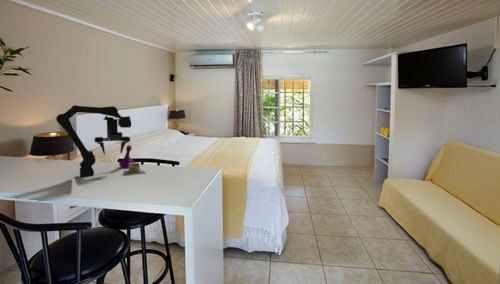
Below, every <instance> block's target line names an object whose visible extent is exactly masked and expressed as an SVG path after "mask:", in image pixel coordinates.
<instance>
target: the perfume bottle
mask: <svg viewBox="0 0 500 284" xmlns="http://www.w3.org/2000/svg"><path fill="white" fill-rule="evenodd" d="M129 142H130V141H129ZM129 142H128V143H127V144H128V145H126V148H125V150H126V153H125V154H124V155H125V156H124V157H123V159H122V160H121V161H120V162H119V163H118V165H119V166H120V167H121V168H127V169H129V163H136V162H135V161H134V160H133V158H131V157H130V152H131V150H133V148H132V145H130V143H129Z"/></svg>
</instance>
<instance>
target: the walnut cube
mask: <svg viewBox="0 0 500 284" xmlns="http://www.w3.org/2000/svg"><path fill="white" fill-rule="evenodd" d="M128 171H129V172H131V173H132V172H140V162H138V161H137V162H135V163H129V168H128Z"/></svg>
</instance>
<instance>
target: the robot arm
mask: <svg viewBox="0 0 500 284" xmlns="http://www.w3.org/2000/svg"><path fill="white" fill-rule="evenodd" d="M77 113H82V114H83V113H84V114H86V113H87V114H97V115H98V114H99V115H102V116H103V115H104V116H105V117H103V119H102V120H103V121H106V137H102V136H95V137H94V141H93V142H94V143H97V145H99V146H100V148H101V151H102V153H103V155H105V153H106V152H105V151H106V150H105V145H104V144H105V143H104V142H116V141H117V142H119V141H120V149H119V150H120V154H122V153H123V151H124V147H125V146H126V144H128V142H131V138H130V136H123V132H121V131H120V132H119V130H118V128H119V127H120V128H123V129H125V128H126V129H127V128H130V129H131V127H132V120H131V116H122V115H121V114H120V113H119V111H118V108H117V107H116V106H112V105H111V106H100V107H98V106H83V105H75V104H74V105H72V107H70V108H69V109H68V110H66V111H65V112H64V113H59V114H58V115H57V116H56V122H57V123H58V124H59V125H60V126H61V128H62V129H64V130H65V132H66V133H67V135H68V137H70V139H71V141H72V142H73V144H74V145H75V147H76V149H78V152H79V153H80V155H81V158H82V161H81V162H80V163H79V178H89V177H94V176H95V170H94V169H93V165H95V163H96V161H97V160H96V155H95V154H94V153H93V151H92V150H91V149H90V150H88V149H87V147H86V146H85V145H84V143H83V141H82V140H81V138H80V136H78V134H77V132H76V131H75V129H74V128H73V125H72V123H71V121H70V119H71V118H72V117H73V116H75V115H76V114H77Z"/></svg>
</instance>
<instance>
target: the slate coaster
mask: <svg viewBox="0 0 500 284" xmlns="http://www.w3.org/2000/svg"><path fill="white" fill-rule="evenodd" d="M123 173H124V174H125V175H127V176H131V175H132V176H133V175H141V174H146V171H145V170H143V169H140V172H132V173H131V172H129V170H124V171H123Z"/></svg>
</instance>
